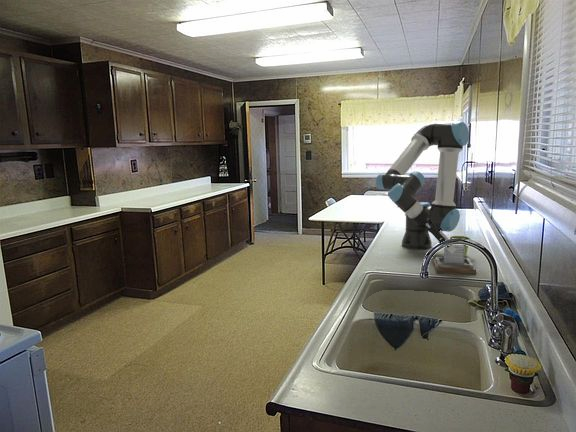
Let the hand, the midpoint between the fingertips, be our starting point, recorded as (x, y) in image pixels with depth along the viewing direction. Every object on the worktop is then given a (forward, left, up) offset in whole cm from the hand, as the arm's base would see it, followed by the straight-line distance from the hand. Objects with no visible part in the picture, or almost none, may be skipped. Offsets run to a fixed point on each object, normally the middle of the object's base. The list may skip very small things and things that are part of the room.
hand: (451, 247), depth 186 cm
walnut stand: (0, +1, -10) cm, 10 cm away
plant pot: (-21, +7, -10) cm, 25 cm away
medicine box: (0, +1, -8) cm, 8 cm away
